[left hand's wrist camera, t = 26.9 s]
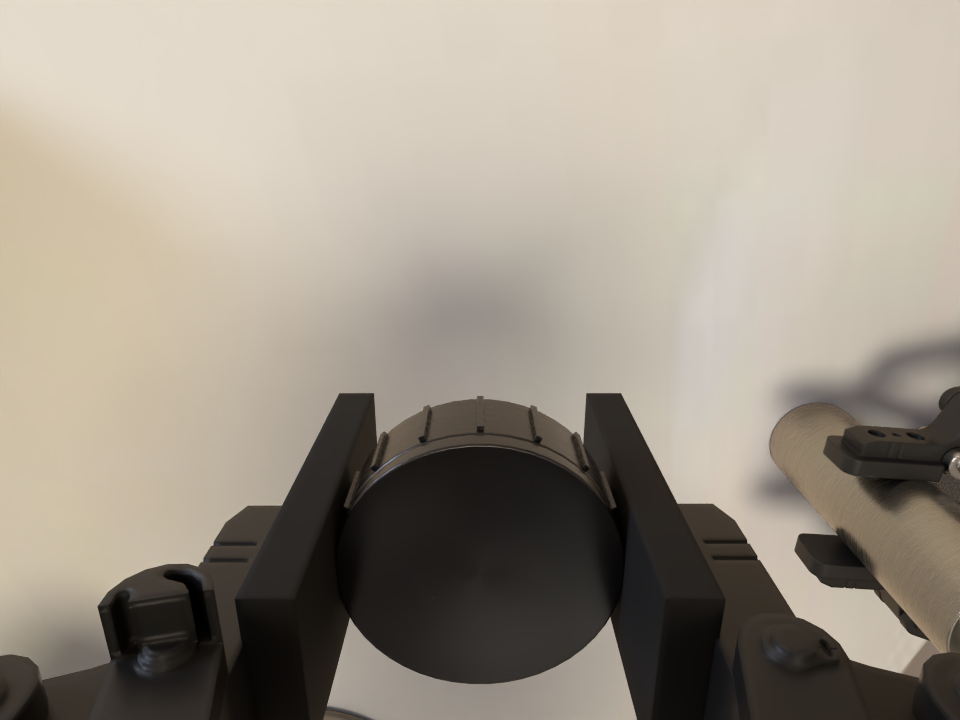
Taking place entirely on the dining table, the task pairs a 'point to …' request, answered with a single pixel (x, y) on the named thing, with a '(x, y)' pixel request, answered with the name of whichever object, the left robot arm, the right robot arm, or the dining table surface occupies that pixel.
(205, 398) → the dining table surface
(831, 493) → the grey metal cylinder
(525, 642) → the lid
